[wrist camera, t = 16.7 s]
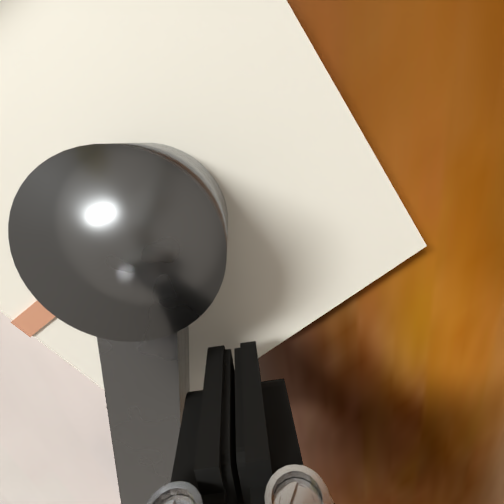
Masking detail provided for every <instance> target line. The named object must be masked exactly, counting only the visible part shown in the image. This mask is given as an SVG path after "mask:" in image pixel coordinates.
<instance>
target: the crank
mask: <svg viewBox="0 0 504 504" xmlns="http://www.w3.org/2000/svg"><path fill="white" fill-rule="evenodd" d="M227 237H228V212H227V206H226V202H225V199H224V196H223V193H222V191H221V189H220V187H219V185H218V183H217V182H216V180H215V178H214V177H213V176H212V175H211V173H210V172H209V171H208V170H207V169H206V168H205V167H204V166H203V165H202V164H201V163H200V162H199V161H197V160H196V159H195V158H193V157H192V156H190V155H189V154H187V153H185V152H183V151H181V150H179V149H176V148H174V147H171V146H167V145H164V144H158V143H110V144H90V145H83V146H78V147H75V148H71V149H68V150H65V151H62V152H60V153H58V154H56V155H54V156H52V157H50V158H49V159H47V160H46V161H44V162H43V163H41V164H40V165H38V166H37V167H36V168H35V169H34V170H33V171H32V172H31V173H30V174H29V175H28V176H27V178H26V179H25V180H24V182H23V183H22V185H21V186H20V188H19V190H18V192H17V194H16V196H15V198H14V200H13V203H12V207H11V210H10V215H9V222H8V239H9V245H10V251H11V255H12V258H13V261H14V264H15V267H16V269H17V271H18V273H19V275H20V277H21V279H22V280H23V282H24V284H25V285H26V287H27V288H28V290H29V291H30V292H31V293H32V295H33V296H34V297H35V298H36V300H37V301H38V302H39V303H40V304H41V305H42V306H43V307H44V308H45V309H47V310H48V311H49V312H50V313H52V314H53V315H54V316H55V317H57V318H58V319H60V320H61V321H63V322H64V323H66V324H68V325H69V326H71V327H73V328H75V329H77V330H79V331H82V332H84V333H87V334H90V335H92V336H96V337H97V342H98V349H99V356H100V363H101V369H102V376H103V383H104V390H105V397H106V403H107V410H108V417H109V424H110V431H111V437H112V444H113V451H114V458H115V465H116V471H117V478H118V485H119V492H120V498H121V504H145V503H146V502H147V501H148V499H149V498H150V497H151V496H152V494H153V493H155V492H156V491H157V490H158V489H160V488H161V487H162V486H164V485H166V484H169V483H170V482H171V477H172V471H173V465H174V460H175V454H176V449H177V443H178V437H179V432H180V426H181V420H182V415H183V409H184V404H185V398H186V394H187V393H188V392H190V380H189V325H190V324H191V323H193V322H194V321H195V320H197V319H198V318H199V317H200V316H201V315H202V314H203V313H204V312H205V311H206V310H207V309H208V307H209V306H210V305H211V304H212V302H213V301H214V299H215V297H216V295H217V294H218V292H219V289H220V287H221V284H222V282H223V278H224V274H225V270H226V260H227Z"/></svg>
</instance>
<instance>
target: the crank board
mask: <svg viewBox="0 0 504 504" xmlns="http://www.w3.org/2000/svg"><path fill="white" fill-rule="evenodd" d="M110 143H158V144H164V145H167V146H171V147H174V148H176V149H179V150H181V151H183V152H185V153H187V154H189V155H190V156H192V157H193V158H195V159H196V160H197V161H199V162H200V163H201V164H202V165H203V166H204V167H205V168H206V169H207V170H208V171H209V172H210V173H211V175H212V176H213V177H214V178H215V180H216V182H217V183H218V185H219V187H220V189H221V191H222V193H223V196H224V199H225V202H226V206H227V212H228V237H227V260H226V270H225V274H224V278H223V282H222V284H221V287H220V289H219V292H218V294H217V295H216V297H215V299H214V301H213V302H212V304H211V305H210V306H209V307H208V309H207V310H206V311H205V312H204V313H203V314H202V315H201V316H200V317H199V318H198V319H197V320H195V321H194V322H193V323H191V324H190V325H189V380H190V392H192V391H199V390H203V385H204V376H205V367H206V359H207V350H208V347H215V346H222V345H224V346H225V349H231V352H232V358H233V364H234V370H235V361H234V348H240V343H244V342H251V341H256V347H257V355H258V358H259V357H261V356H262V355H264V354H265V353H267V352H268V351H270V350H271V349H273V348H274V347H276V346H277V345H279V344H280V343H282V342H283V341H285V340H286V339H288V338H289V337H291V336H292V335H294V334H295V333H297V332H298V331H300V330H301V329H303V328H304V327H306V326H307V325H309V324H310V323H312V322H313V321H315V320H316V319H318V318H319V317H321V316H322V315H324V314H325V313H327V312H328V311H330V310H331V309H333V308H334V307H336V306H337V305H339V304H340V303H342V302H343V301H345V300H346V299H348V298H349V297H351V296H352V295H354V294H355V293H357V292H358V291H360V290H361V289H363V288H364V287H366V286H367V285H369V284H370V283H372V282H373V281H375V280H376V279H378V278H379V277H381V276H382V275H384V274H385V273H387V272H388V271H390V270H391V269H393V268H394V267H396V266H397V265H399V264H400V263H402V262H403V261H405V260H406V259H408V258H409V257H411V256H412V255H414V254H415V253H417V252H418V251H420V250H421V249H423V248H424V247H426V246H427V245H426V244H425V242H424V240H423V238H422V237H421V235H420V233H419V231H418V230H417V228H416V226H415V224H414V223H413V221H412V219H411V217H410V216H409V214H408V212H407V210H406V209H405V207H404V205H403V203H402V202H401V200H400V198H399V196H398V195H397V193H396V191H395V189H394V188H393V186H392V184H391V182H390V181H389V179H388V177H387V175H386V174H385V172H384V170H383V168H382V167H381V165H380V163H379V161H378V160H377V158H376V156H375V154H374V153H373V151H372V149H371V147H370V146H369V144H368V142H367V140H366V139H365V137H364V135H363V133H362V132H361V130H360V128H359V126H358V125H357V123H356V121H355V119H354V118H353V116H352V114H351V112H350V111H349V109H348V107H347V105H346V104H345V102H344V100H343V98H342V97H341V95H340V93H339V91H338V90H337V88H336V86H335V84H334V83H333V81H332V79H331V77H330V76H329V74H328V72H327V70H326V69H325V67H324V65H323V63H322V62H321V60H320V58H319V56H318V55H317V53H316V51H315V49H314V48H313V46H312V44H311V42H310V41H309V39H308V37H307V35H306V34H305V32H304V30H303V28H302V27H301V25H300V23H299V21H298V20H297V18H296V16H295V14H294V13H293V11H292V9H291V7H290V6H289V4H288V2H287V0H0V311H1V312H2V313H3V314H4V315H6V316H7V317H8V318H10V319H11V320H12V322H11V323H12V324H13V325H15V326H16V327H17V328H19V329H20V330H21V331H23V332H24V333H25V334H27V335H28V336H29V337H31V336H33V337H35V338H36V339H37V340H39V341H40V342H41V343H43V344H44V345H45V346H47V347H48V348H49V349H50V350H52V351H53V352H54V353H56V354H57V355H58V356H60V357H61V358H62V359H64V360H65V361H66V362H68V363H69V364H70V365H72V366H73V367H74V368H75V369H77V370H78V371H79V372H81V373H82V374H83V375H85V376H86V377H87V378H89V379H90V380H91V381H93V382H94V383H95V384H97V385H98V386H99V387H100V388H102V389H103V390H104V383H103V376H102V369H101V363H100V356H99V349H98V342H97V337H96V336H92V335H90V334H87V333H84V332H82V331H79V330H77V329H75V328H73V327H71V326H69V325H68V324H66V323H64V322H63V321H61V320H60V319H58V318H57V317H55V316H54V315H53V314H52V313H50V312H49V311H48V310H47V309H45V308H44V307H43V306H42V305H41V304H40V303H39V302H38V301H37V300H36V298H35V297H34V296H33V295H32V293H31V292H30V291H29V290H28V288H27V287H26V285H25V284H24V282H23V280H22V279H21V277H20V275H19V273H18V271H17V269H16V267H15V264H14V261H13V258H12V255H11V251H10V245H9V239H8V222H9V215H10V210H11V207H12V203H13V200H14V198H15V196H16V194H17V192H18V190H19V188H20V186H21V185H22V183H23V182H24V180H25V179H26V178H27V176H28V175H29V174H30V173H31V172H32V171H33V170H34V169H35V168H36V167H37V166H38V165H40V164H41V163H43V162H44V161H46V160H47V159H49V158H50V157H52V156H54V155H56V154H58V153H60V152H62V151H65V150H68V149H71V148H75V147H78V146H83V145H90V144H110ZM104 391H105V390H104Z"/></svg>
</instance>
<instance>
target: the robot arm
mask: <svg viewBox="0 0 504 504" xmlns="http://www.w3.org/2000/svg"><path fill="white" fill-rule="evenodd" d="M234 361H235V370H234V364H233V358H232V352H231V349H225V346H224V345H222V346H215V347H208V350H207V359H206V367H205V376H204V385H203V390H199V391H192V392H188V393H187V394H186V398H185V404H184V409H183V415H182V420H181V426H180V432H179V437H178V443H177V449H176V454H175V460H174V465H173V471H172V477H171V482H170V483H169V484H166V485H164V486H162V487H161V488H160V489H158V490H157V491H156V492H155V493H153V494H152V496H151V497H150V498H149V499H148V501H147V502H146V503H145V504H334V503H333V501H332V498H331V496H330V494H329V491H328V489H327V487H326V485H325V483H324V482H323V480H322V478H321V477H320V476H319V475H318V474H317V473H316V472H315V471H314V470H312V469H310V468H308V467H306V466H303V462H302V457H301V453H300V448H299V444H298V439H297V435H296V430H295V426H294V421H293V417H292V412H291V408H290V403H289V399H288V394H287V390H286V385H285V381H284V379H278V380H271V381H263V382H261V378H260V370H259V362H258V355H257V347H256V341H251V342H244V343H240V348H234Z"/></svg>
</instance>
